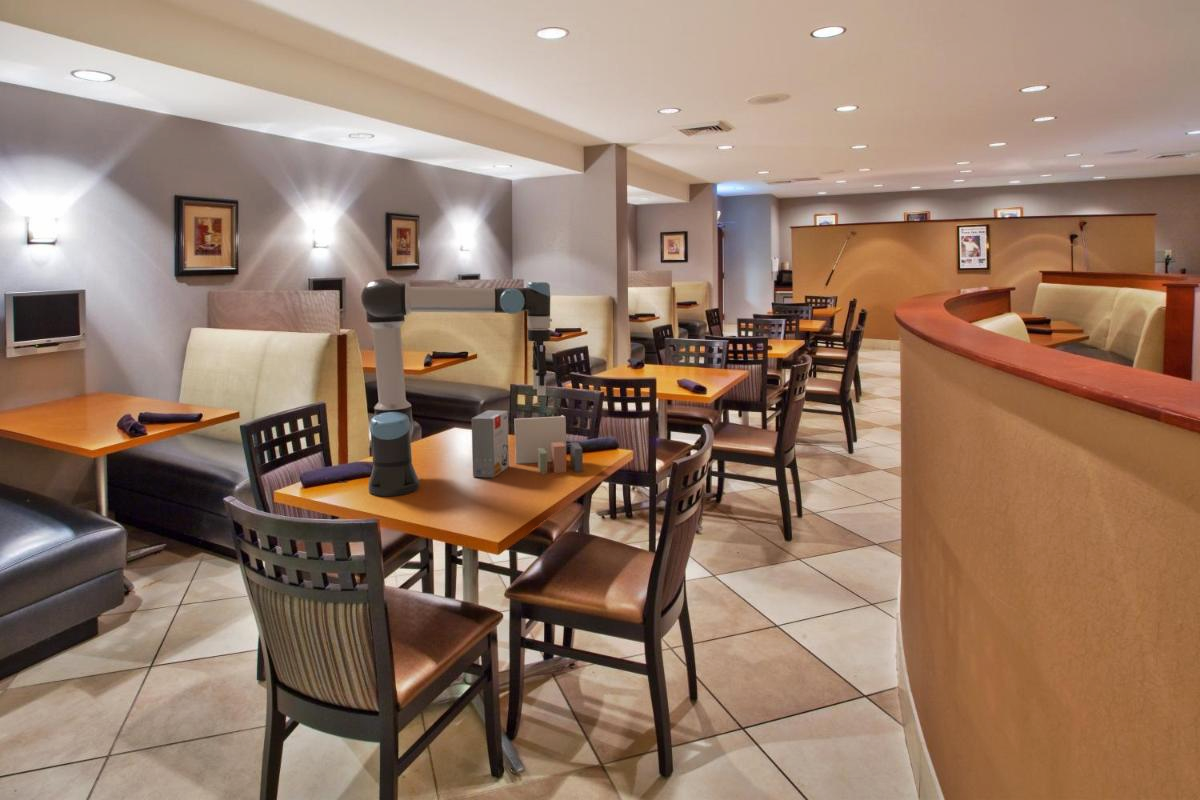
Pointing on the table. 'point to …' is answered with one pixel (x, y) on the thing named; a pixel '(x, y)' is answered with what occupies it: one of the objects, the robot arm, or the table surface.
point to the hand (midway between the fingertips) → (539, 392)
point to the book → (558, 457)
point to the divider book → (542, 460)
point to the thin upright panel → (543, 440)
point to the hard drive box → (490, 443)
